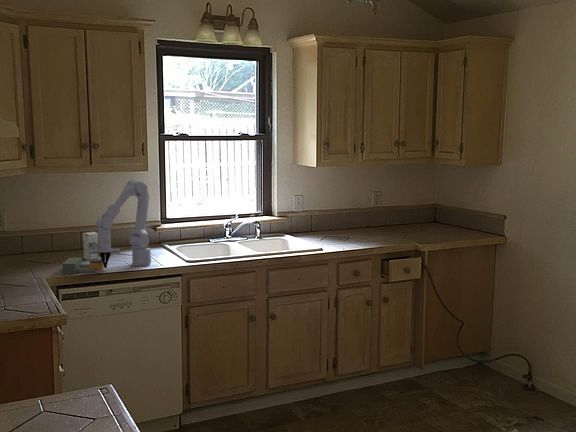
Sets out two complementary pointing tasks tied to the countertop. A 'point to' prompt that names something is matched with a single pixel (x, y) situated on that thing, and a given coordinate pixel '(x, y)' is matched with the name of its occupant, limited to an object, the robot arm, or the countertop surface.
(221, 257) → the countertop surface
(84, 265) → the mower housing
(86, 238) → the syrup box
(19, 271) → the countertop surface
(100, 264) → the orange-topped grey cube
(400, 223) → the countertop surface
